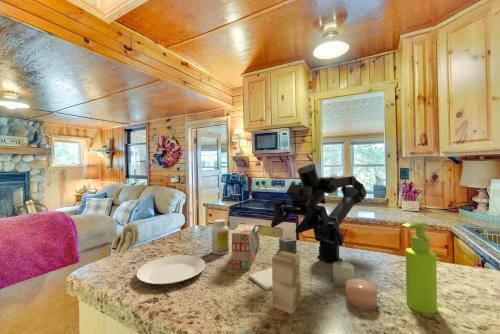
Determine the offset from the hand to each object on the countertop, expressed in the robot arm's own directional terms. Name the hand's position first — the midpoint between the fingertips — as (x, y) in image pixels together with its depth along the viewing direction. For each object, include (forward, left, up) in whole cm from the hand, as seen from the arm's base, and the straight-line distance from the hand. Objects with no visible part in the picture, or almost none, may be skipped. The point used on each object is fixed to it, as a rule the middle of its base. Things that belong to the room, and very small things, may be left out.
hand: (283, 228), depth 67 cm
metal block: (+5, +9, -16) cm, 19 cm away
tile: (+3, -4, -16) cm, 16 cm away
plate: (+30, -20, -16) cm, 39 cm away
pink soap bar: (-13, +15, -16) cm, 26 cm away
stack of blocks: (+3, -23, -16) cm, 28 cm away
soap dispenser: (-24, +22, -16) cm, 37 cm away
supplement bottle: (+11, -32, -16) cm, 37 cm away
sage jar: (-16, +6, -16) cm, 24 cm away
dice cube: (-14, -21, -16) cm, 31 cm away
